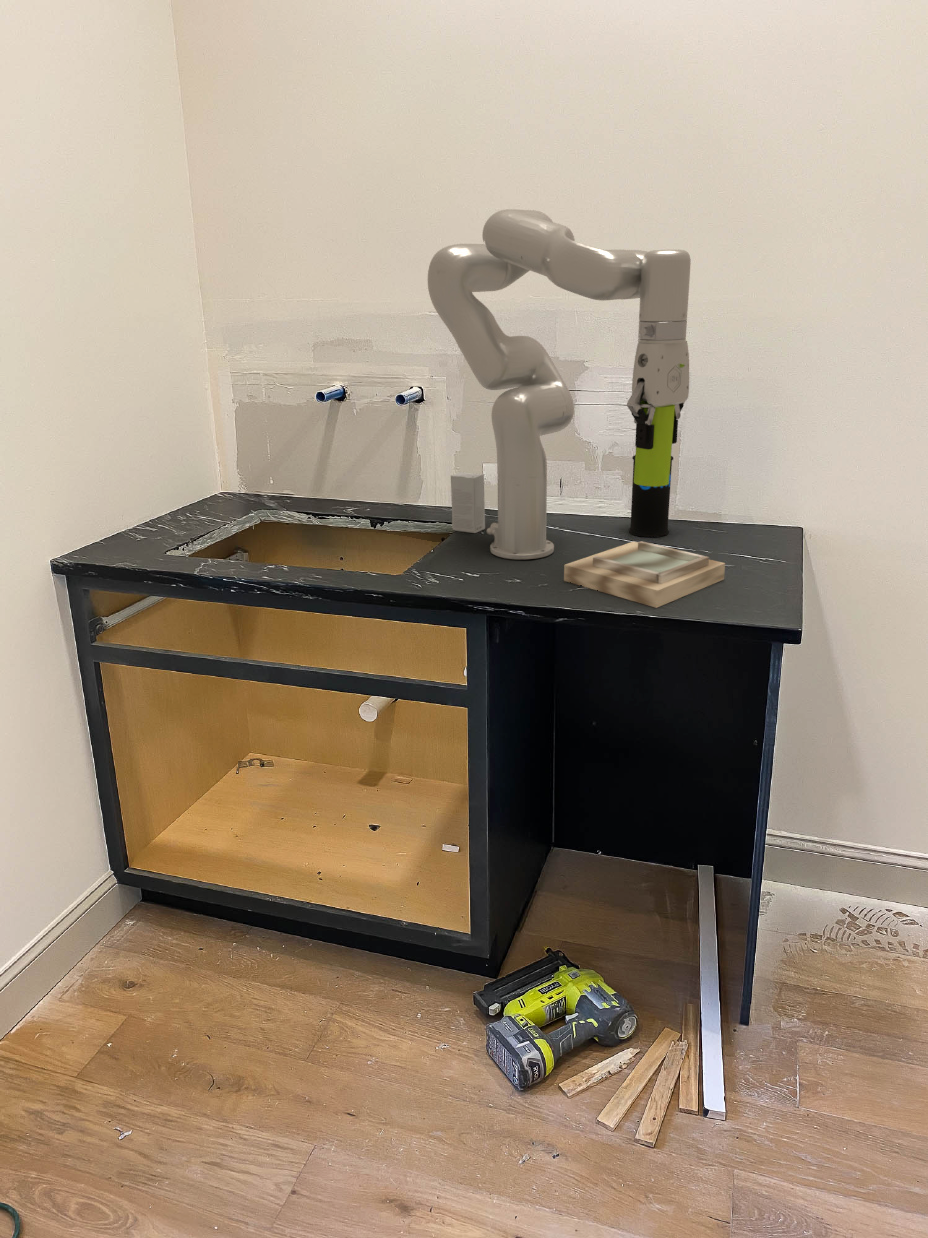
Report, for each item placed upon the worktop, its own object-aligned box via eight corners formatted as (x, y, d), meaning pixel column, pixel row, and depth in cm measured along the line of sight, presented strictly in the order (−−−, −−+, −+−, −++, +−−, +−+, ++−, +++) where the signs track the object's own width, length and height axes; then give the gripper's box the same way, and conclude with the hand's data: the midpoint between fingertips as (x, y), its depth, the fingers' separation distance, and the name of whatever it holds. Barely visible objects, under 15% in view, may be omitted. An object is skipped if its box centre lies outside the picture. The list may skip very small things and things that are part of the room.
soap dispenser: (675, 487, 150) (685, 363, 143) (633, 485, 151) (641, 362, 144) (674, 480, 155) (684, 360, 148) (634, 478, 157) (642, 359, 150)
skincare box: (485, 529, 194) (485, 474, 190) (475, 533, 191) (474, 478, 186) (462, 525, 197) (460, 471, 193) (451, 530, 194) (449, 475, 189)
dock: (563, 580, 161) (564, 556, 159) (632, 556, 173) (633, 533, 172) (656, 607, 147) (658, 581, 145) (723, 579, 160) (726, 555, 158)
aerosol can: (624, 527, 193) (628, 433, 185) (662, 526, 193) (667, 432, 186) (634, 538, 185) (639, 440, 178) (673, 536, 185) (680, 439, 178)
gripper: (649, 336, 136) (643, 455, 143) (712, 330, 147) (704, 440, 154) (609, 335, 142) (605, 450, 148) (674, 328, 152) (667, 436, 159)
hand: (656, 444), depth 151 cm, fingers closed on soap dispenser, 5 cm apart
